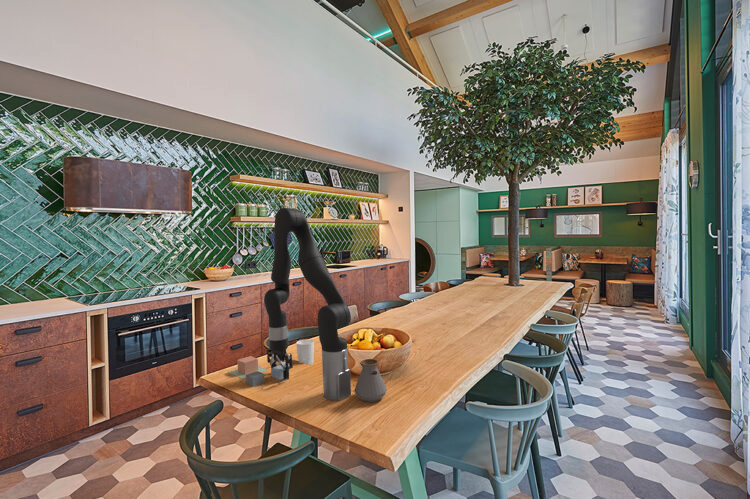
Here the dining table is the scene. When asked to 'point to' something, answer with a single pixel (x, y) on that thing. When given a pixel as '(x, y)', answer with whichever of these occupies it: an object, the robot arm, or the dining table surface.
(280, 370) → the blue brick
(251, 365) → the base brick
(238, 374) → the build plate
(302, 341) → the white cup
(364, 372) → the coffee pot
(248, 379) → the slate brick
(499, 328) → the dining table surface
